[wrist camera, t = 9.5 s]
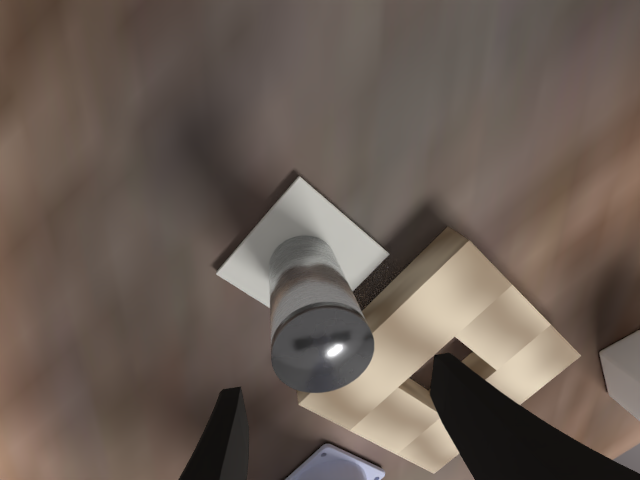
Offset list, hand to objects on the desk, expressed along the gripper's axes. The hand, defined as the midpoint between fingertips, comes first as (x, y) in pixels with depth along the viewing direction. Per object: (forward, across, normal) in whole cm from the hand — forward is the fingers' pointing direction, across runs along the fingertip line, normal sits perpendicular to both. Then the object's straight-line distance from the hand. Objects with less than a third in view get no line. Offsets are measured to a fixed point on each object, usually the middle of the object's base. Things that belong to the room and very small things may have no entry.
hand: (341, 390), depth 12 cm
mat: (+10, 0, 0) cm, 10 cm away
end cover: (+10, 0, 0) cm, 10 cm away
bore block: (+10, -10, +10) cm, 17 cm away
